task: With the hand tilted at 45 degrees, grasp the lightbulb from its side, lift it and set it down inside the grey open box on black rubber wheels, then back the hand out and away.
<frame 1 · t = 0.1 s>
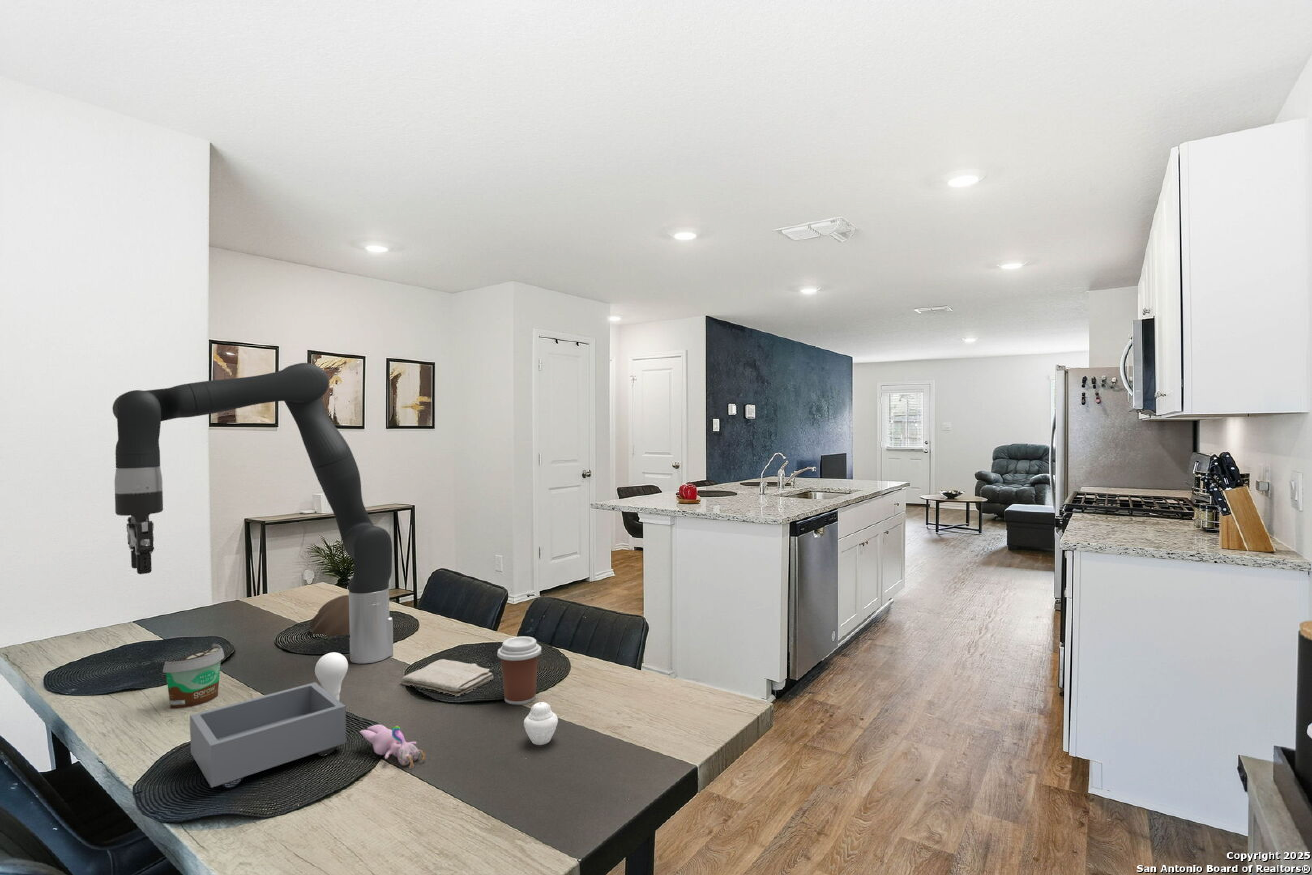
hand: (141, 570, 131), 29 cm above the table, tool pointing down, fingers open, 8 cm apart
white lidded jar: (541, 741, 117), on the table
pink toy animal: (390, 756, 113), on the table
lightbulb: (332, 707, 134), on the table
washcloth: (448, 684, 146), on the table
coffee cup: (520, 699, 137), on the table
food container: (202, 700, 138), on the table
decorative dome: (346, 630, 187), on the table
grey open box: (269, 756, 113), on the table
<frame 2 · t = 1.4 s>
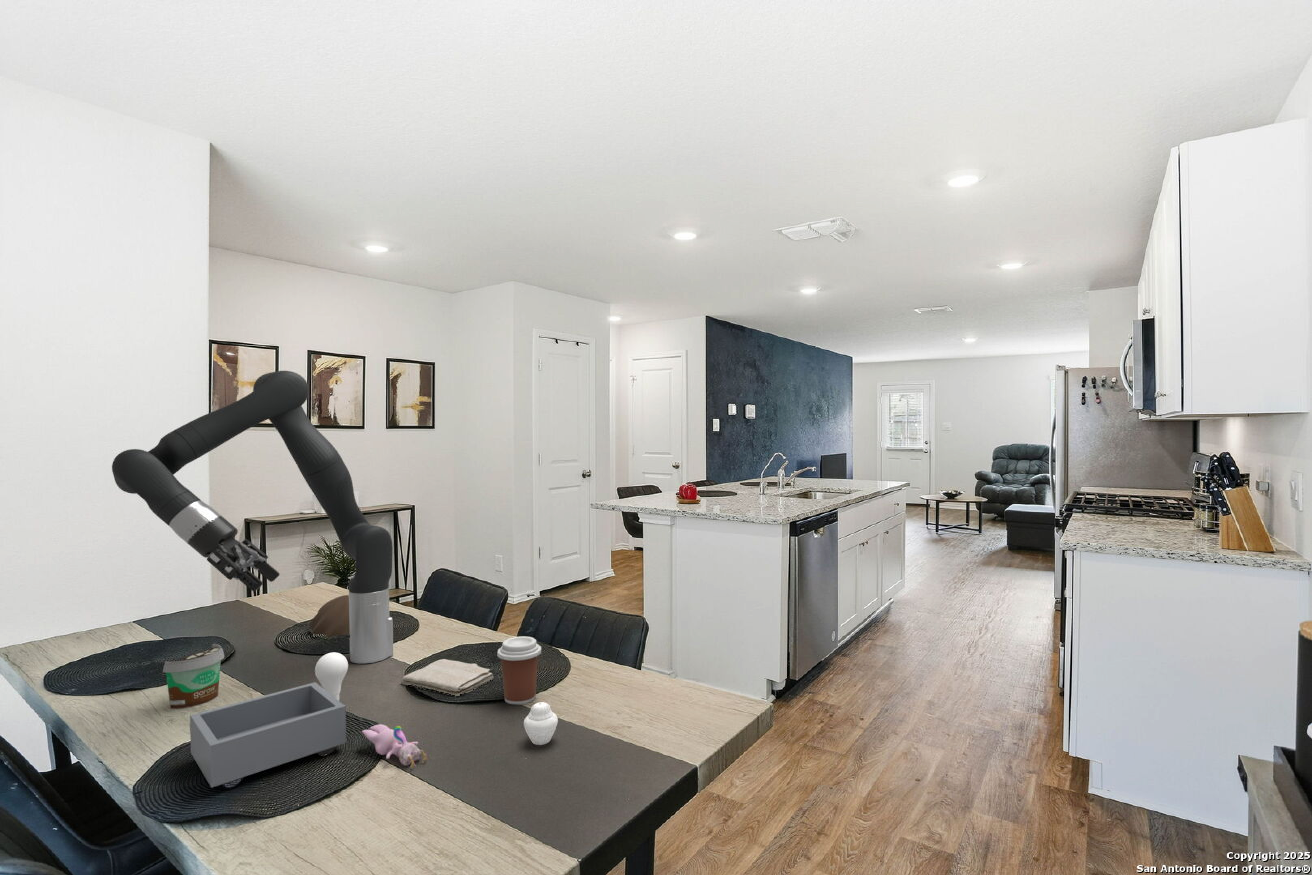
hand: (267, 582, 131), 26 cm above the table, tool tilted 45°, fingers open, 8 cm apart
nothing on the table moved.
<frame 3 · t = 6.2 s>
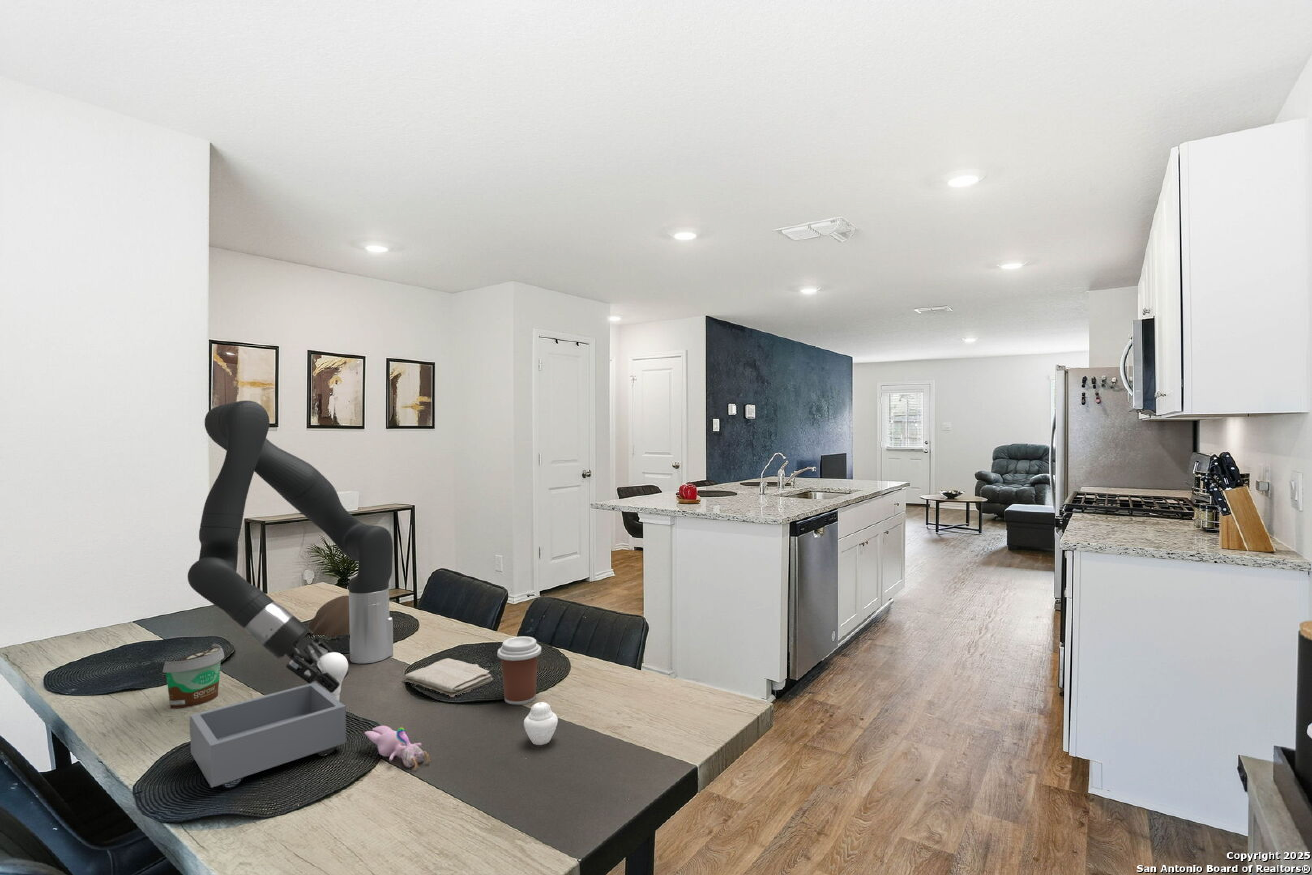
hand: (340, 682, 134), 5 cm above the table, tool tilted 45°, fingers closed on lightbulb, 6 cm apart
lightbulb: (332, 707, 134), on the table, touching gripper
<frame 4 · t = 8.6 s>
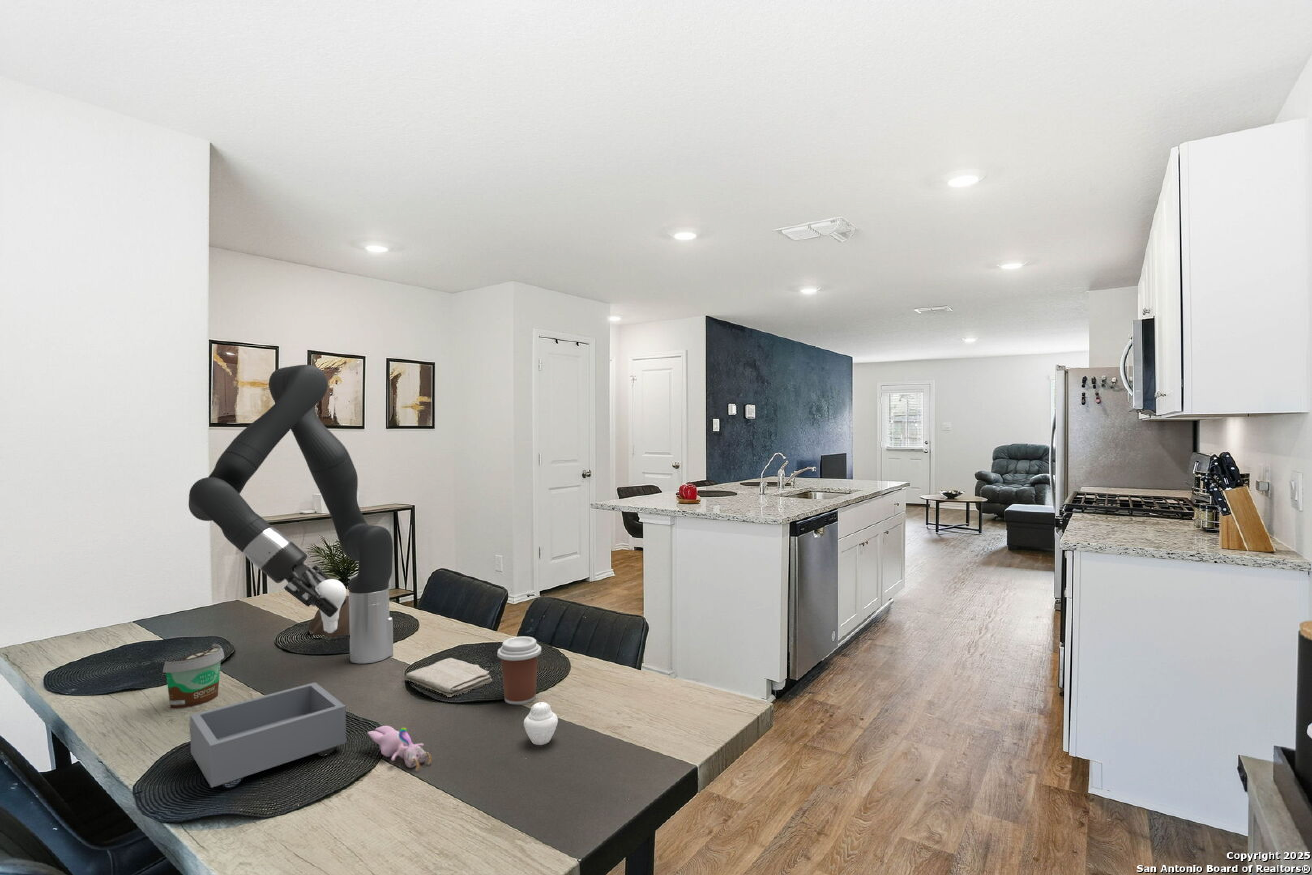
hand: (339, 609, 134), 20 cm above the table, tool tilted 45°, fingers closed on lightbulb, 6 cm apart
lightbulb: (330, 633, 134), point 15 cm above the table, touching gripper
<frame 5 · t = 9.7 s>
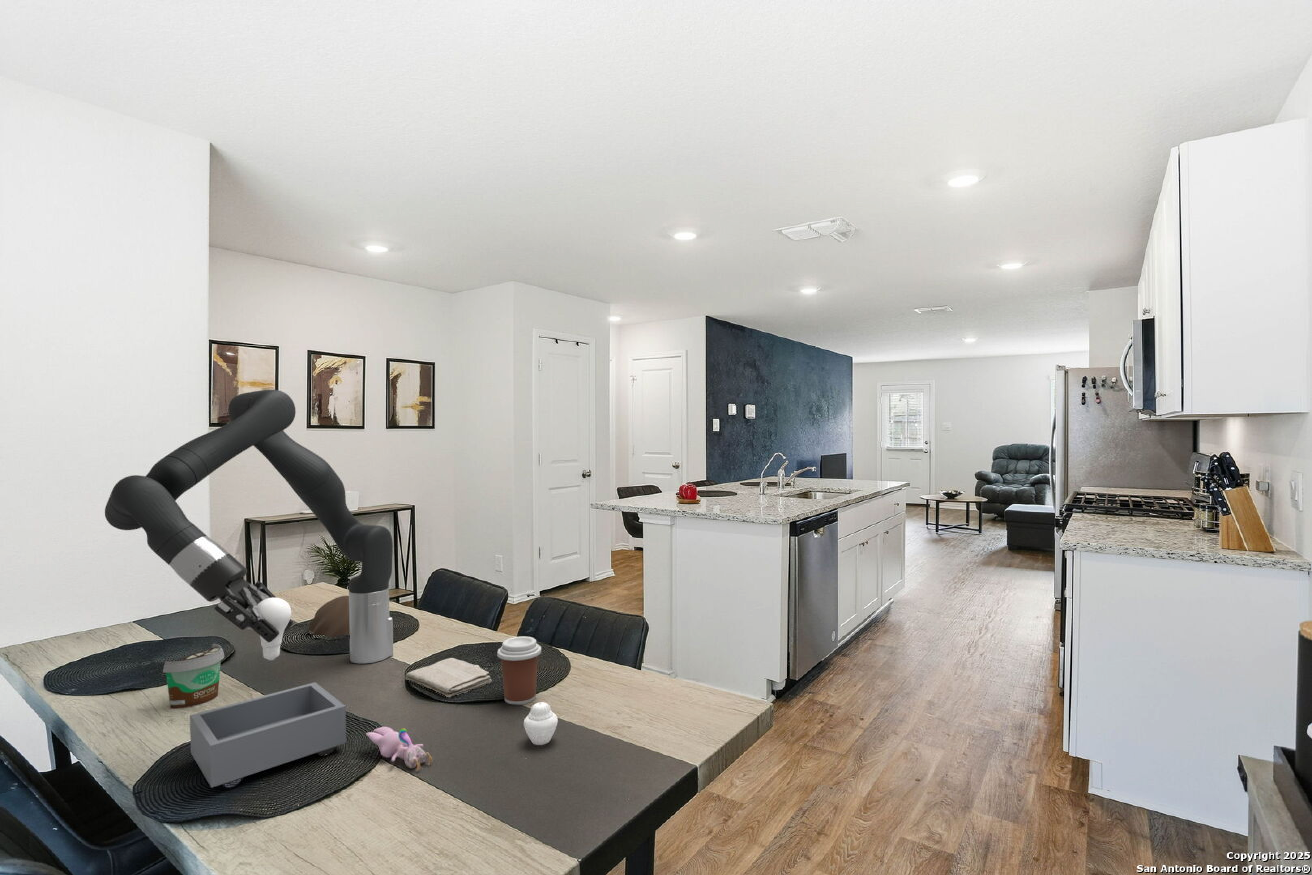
hand: (282, 632, 116), 21 cm above the table, tool tilted 45°, fingers closed on lightbulb, 6 cm apart
lightbulb: (271, 661, 115), point 16 cm above the table, touching gripper
when the fingers open (9 cm above the table, at t = 13.2 s): lightbulb drops 1 cm, resting on grey open box.
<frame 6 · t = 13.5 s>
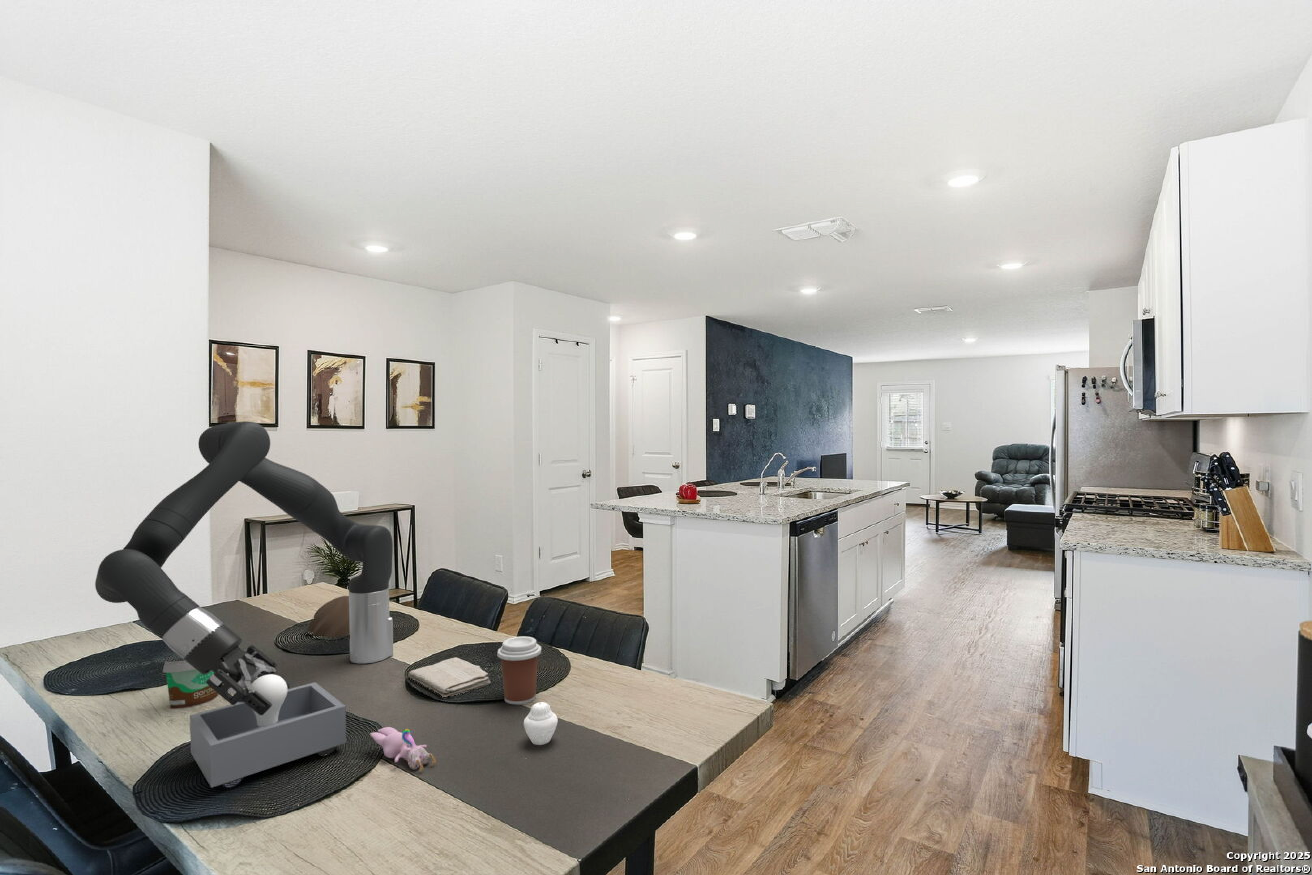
hand: (277, 700, 113), 10 cm above the table, tool tilted 45°, fingers open, 8 cm apart
lightbulb: (267, 740, 113), point 3 cm above the table, touching grey open box
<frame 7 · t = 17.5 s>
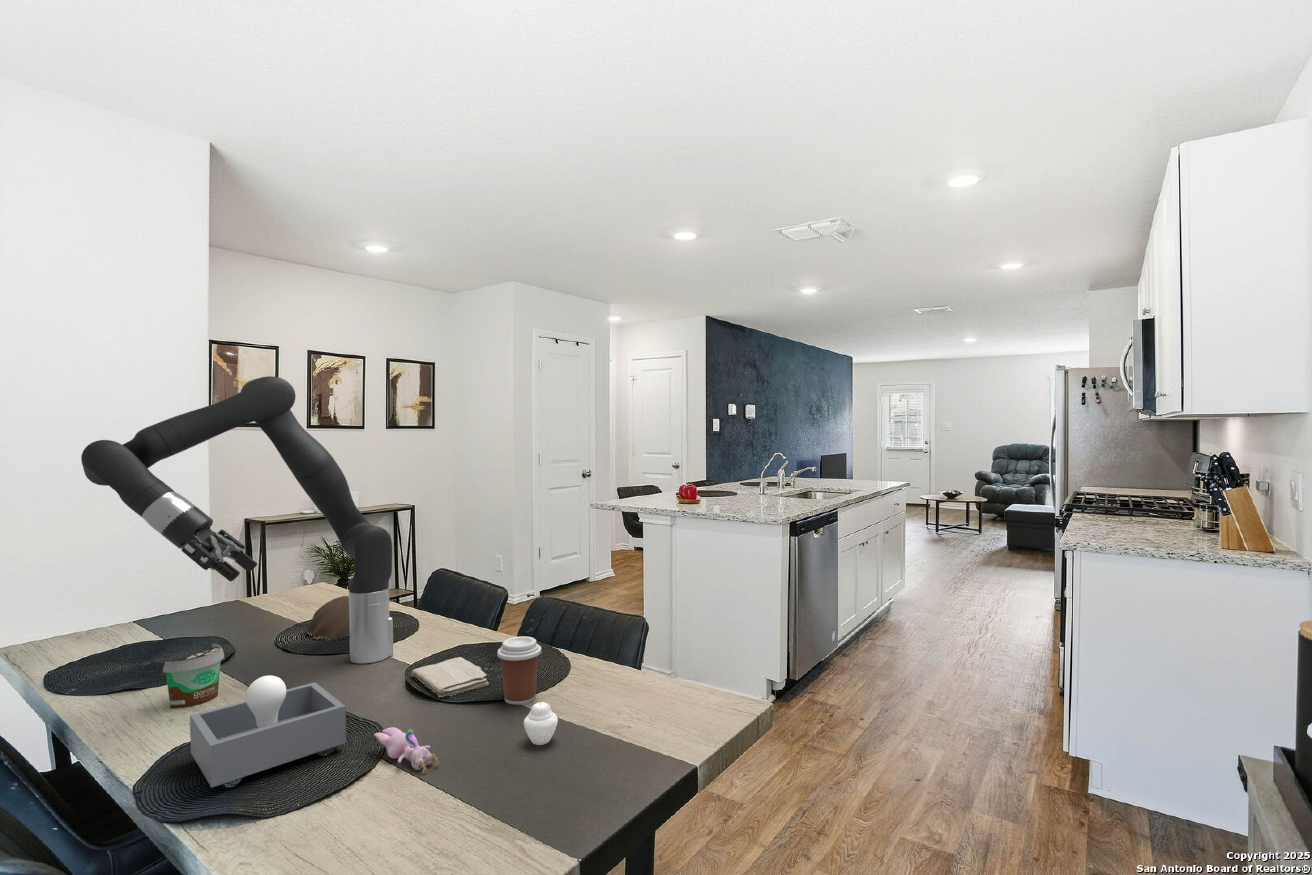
hand: (245, 572, 130), 29 cm above the table, tool tilted 45°, fingers open, 8 cm apart
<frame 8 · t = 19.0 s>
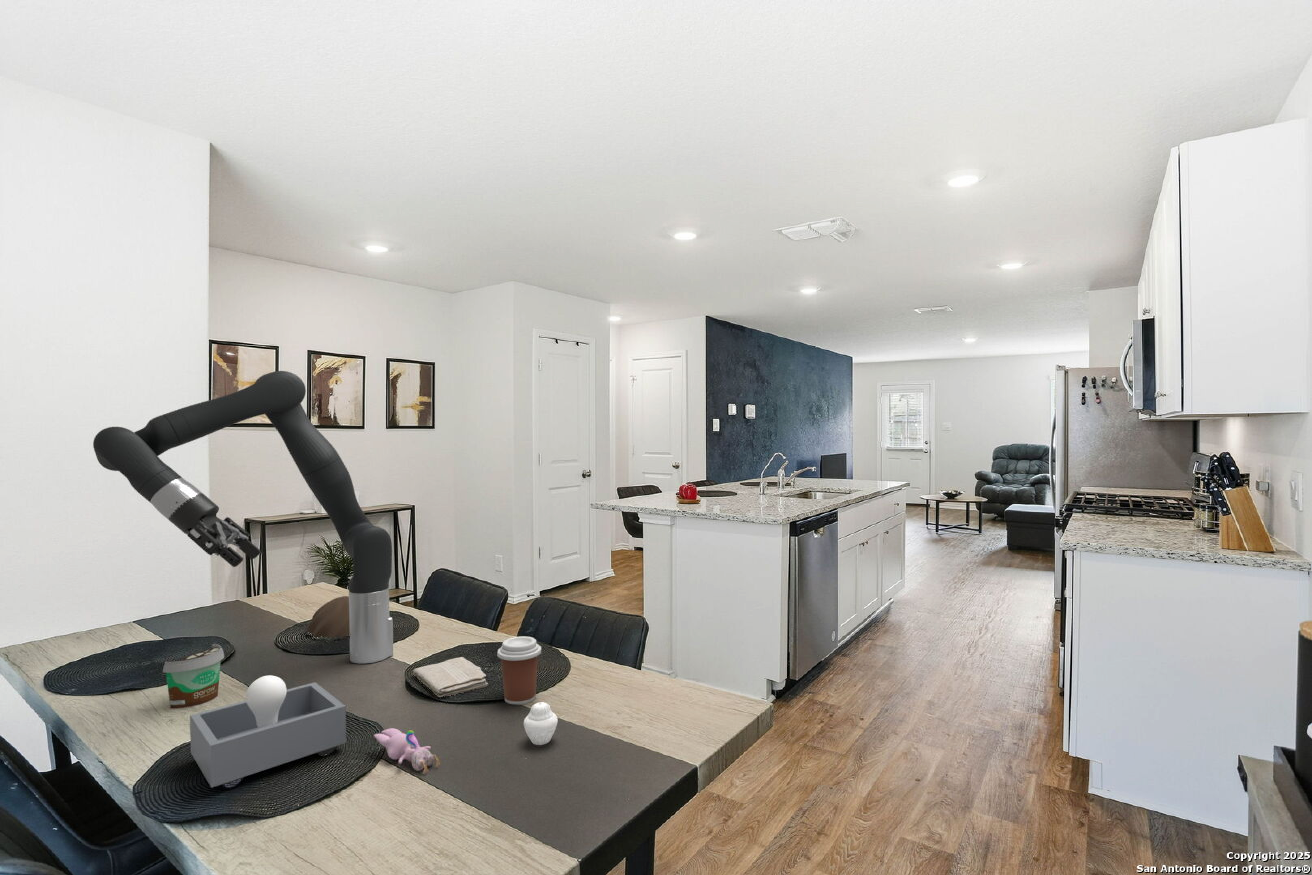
hand: (248, 559, 133), 31 cm above the table, tool tilted 45°, fingers open, 8 cm apart
at the end: lightbulb inside the target area on the grey open box (0.2 cm from its centre), point 2.8 cm above the grey open box's base; the gripper is holding nothing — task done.
